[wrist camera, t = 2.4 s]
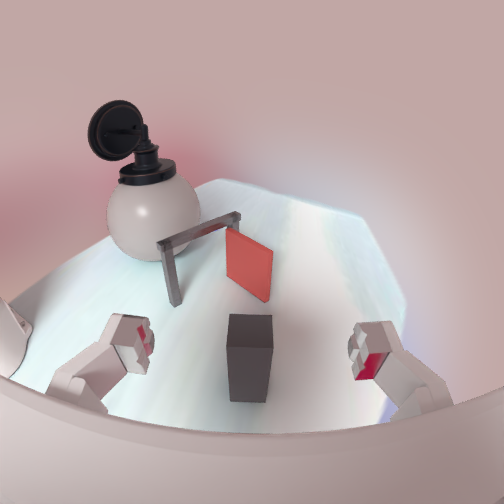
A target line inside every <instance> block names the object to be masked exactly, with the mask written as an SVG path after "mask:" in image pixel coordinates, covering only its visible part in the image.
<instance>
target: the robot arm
mask: <svg viewBox="0 0 504 504" xmlns="http://www.w3.org/2000/svg"><path fill="white" fill-rule="evenodd" d="M149 326H150V321H149V318H147V317H141V316H133V315H126V314H118V313H113V314H112V315H111V316H110V318H109V321H108V323H107V325H106V327H105V329H104V331H103V333H102V335H101V337H100V339H99V342H94V343H93V344H92V345H90V346H89V347H87V348H86V349H85V350H83V351H82V352H80V353H79V354H78V355H76V356H75V357H74V358H72V359H71V360H69V361H68V362H67V363H65V364H64V365H62V366H61V367H60V368H58V369H57V370H56V371H55V373H54V375H53V378H52V380H51V382H50V384H49V387H48V389H47V391H46V393H45V394H43V393H41V392H38V391H36V390H33V389H31V388H28V387H26V386H24V385H21V384H19V383H17V382H15V381H12V380H10V379H8V378H9V377H10V376H11V375H12V374H13V373H14V372H15V371H16V370H17V368H18V367H19V365H20V364H21V362H22V360H23V357H24V354H25V351H26V344H27V340H28V338H29V336H30V334H31V332H32V326H31V325H30V324H29V323H28V322H27V321H26V320H25V319H24V318H23V317H21V316H20V315H19V314H18V313H17V312H16V311H15V310H14V309H13V308H11V307H10V306H9V305H8V304H7V303H6V301H5V300H2V299H1V298H0V504H504V386H503V387H501V388H498V389H496V390H494V391H491V392H489V393H487V394H484V395H481V396H479V397H476V398H474V399H471V400H468V401H465V402H462V403H459V404H456V405H454V404H453V402H452V399H451V396H450V393H449V391H448V388H447V386H446V383H445V381H444V380H443V379H442V378H440V377H439V376H438V375H437V374H435V373H434V372H433V371H432V370H431V369H429V368H428V367H427V366H426V365H424V364H423V363H422V362H421V361H420V360H418V359H417V358H416V357H414V356H413V355H412V354H411V353H410V352H408V351H404V349H403V347H402V344H401V342H400V339H399V337H398V335H397V332H396V330H395V328H394V325H393V323H392V322H391V321H380V322H363V323H356V324H355V326H354V329H353V330H354V334H353V335H352V336H351V337H350V339H349V342H348V354H349V359H351V360H352V361H353V362H354V363H353V365H352V371H353V375H354V379H355V380H367V379H374V381H375V382H376V383H377V385H378V386H379V387H380V388H381V389H382V390H383V391H384V392H385V394H386V395H387V396H388V397H389V398H390V399H391V400H392V401H393V402H394V404H395V405H396V406H397V407H398V408H399V409H398V410H397V411H396V412H395V413H394V414H393V415H392V417H391V418H390V420H391V422H386V423H381V424H375V425H369V426H363V427H356V428H349V429H340V430H331V431H320V432H306V433H284V434H249V433H226V432H212V431H201V430H192V429H184V428H176V427H169V426H163V425H157V424H151V423H146V422H141V421H136V420H131V419H126V418H122V417H118V416H113V415H109V414H108V410H107V408H106V407H105V406H104V404H103V403H102V402H101V401H100V400H101V399H102V398H103V397H104V396H105V395H106V394H107V393H108V392H109V391H110V390H111V389H112V388H113V387H114V386H115V385H116V384H117V383H118V382H119V381H120V380H121V379H122V378H123V377H124V376H125V375H126V374H127V372H129V373H136V374H144V375H146V373H147V370H148V366H149V363H150V361H149V358H148V356H149V355H151V354H152V353H153V349H154V342H155V339H154V333H153V331H152V330H151V329H150V328H149Z"/></svg>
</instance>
